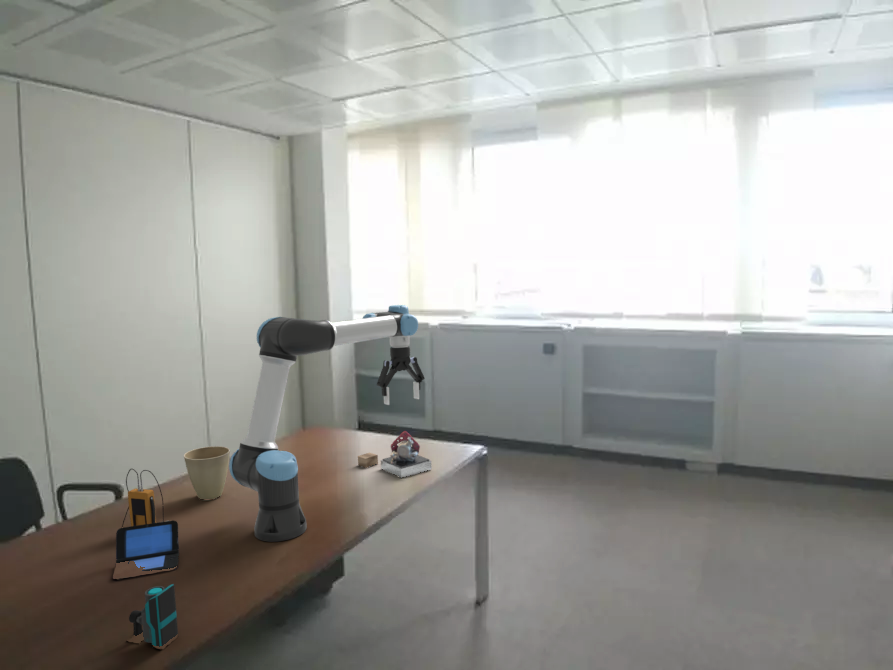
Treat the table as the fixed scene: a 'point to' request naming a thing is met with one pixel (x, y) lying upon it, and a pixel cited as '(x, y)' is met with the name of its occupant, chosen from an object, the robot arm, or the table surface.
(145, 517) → the multimeter
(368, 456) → the brown rectangular block
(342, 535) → the table surface
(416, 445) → the brake caliper
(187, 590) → the table surface
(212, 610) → the table surface
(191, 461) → the plant pot
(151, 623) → the surveillance camera
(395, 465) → the stand
